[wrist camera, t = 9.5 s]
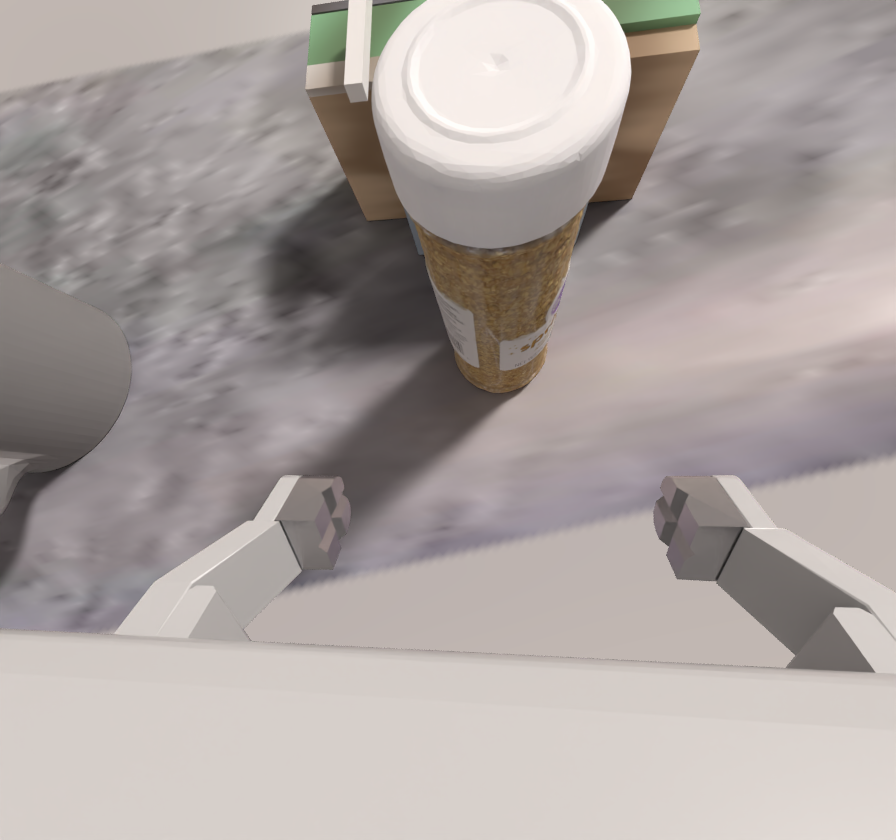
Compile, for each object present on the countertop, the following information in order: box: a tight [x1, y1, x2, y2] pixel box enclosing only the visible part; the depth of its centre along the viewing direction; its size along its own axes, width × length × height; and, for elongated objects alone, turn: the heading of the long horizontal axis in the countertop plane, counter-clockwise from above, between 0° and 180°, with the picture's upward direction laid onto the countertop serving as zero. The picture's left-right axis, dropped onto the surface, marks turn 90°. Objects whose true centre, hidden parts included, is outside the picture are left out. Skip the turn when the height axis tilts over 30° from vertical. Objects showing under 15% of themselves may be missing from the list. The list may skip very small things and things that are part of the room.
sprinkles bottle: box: [371, 0, 631, 393], centre depth 13 cm, size 5×5×13 cm
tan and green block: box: [305, 0, 701, 221], centre depth 18 cm, size 14×4×7 cm, turn 90°
